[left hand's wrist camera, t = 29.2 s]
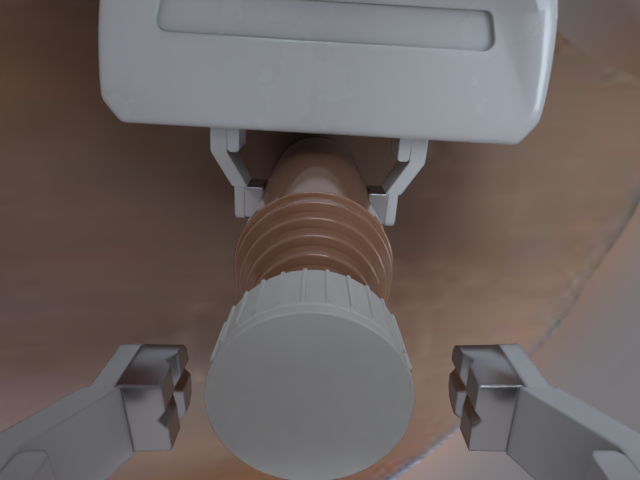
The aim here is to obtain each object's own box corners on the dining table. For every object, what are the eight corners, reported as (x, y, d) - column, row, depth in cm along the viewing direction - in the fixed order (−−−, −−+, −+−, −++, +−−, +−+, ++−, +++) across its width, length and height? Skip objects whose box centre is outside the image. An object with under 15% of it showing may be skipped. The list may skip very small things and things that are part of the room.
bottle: (284, 226, 29) (221, 486, 10) (266, 145, 27) (149, 287, 9) (364, 212, 29) (446, 454, 10) (351, 129, 27) (423, 239, 8)
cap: (288, 442, 11) (282, 511, 10) (185, 325, 10) (156, 378, 8) (431, 368, 11) (455, 428, 9) (338, 231, 9) (343, 268, 8)
